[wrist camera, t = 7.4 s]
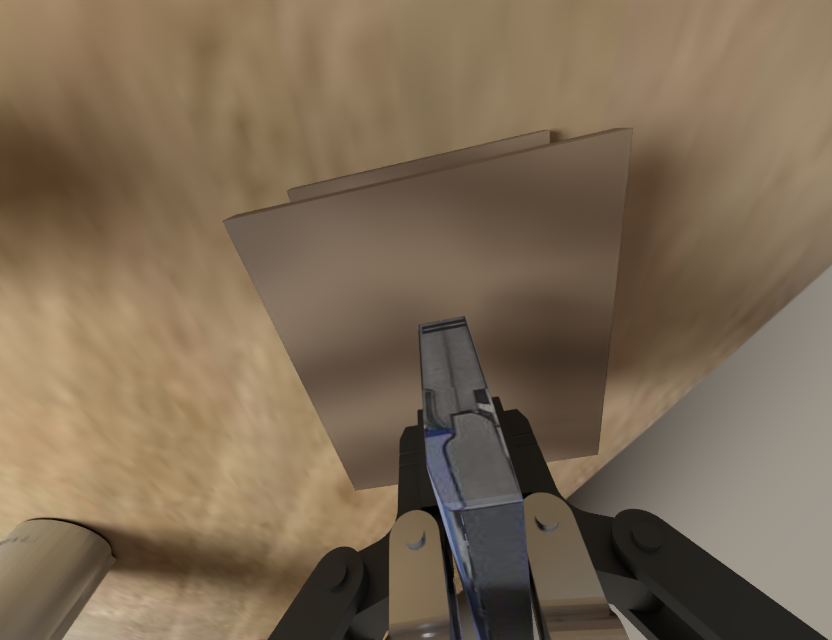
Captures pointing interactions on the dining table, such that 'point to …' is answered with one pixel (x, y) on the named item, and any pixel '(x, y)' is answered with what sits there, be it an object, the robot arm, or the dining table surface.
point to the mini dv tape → (474, 482)
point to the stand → (449, 286)
